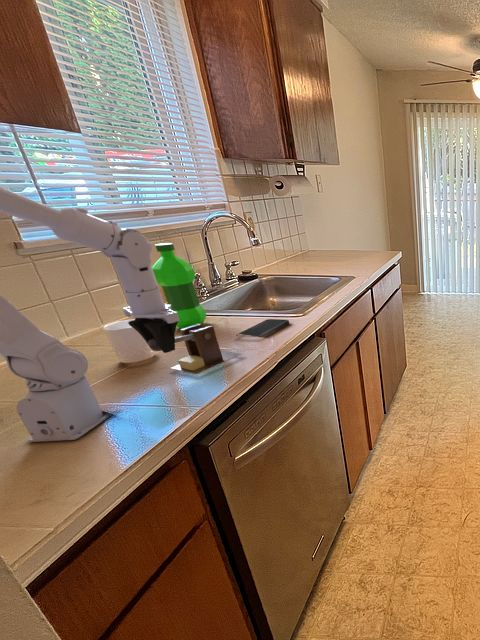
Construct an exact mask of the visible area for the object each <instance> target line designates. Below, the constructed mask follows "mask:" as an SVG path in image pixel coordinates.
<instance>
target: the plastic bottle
mask: <svg viewBox="0 0 480 640" xmlns="http://www.w3.org/2000/svg"><path fill="white" fill-rule="evenodd" d="M154 246H155V248H156V252H158V253H160V258H159V259H158V260H157V261H156V262H155V263H154V264H153V265H152V266H151V267H152V269H153V272H154V275H155V278H156V281H157V284H158V286H160V287H161V288H162V289H161V290H162V291H163V294H164V297H165V299H166V302H167V305H171V307H172V308H171V310H172V311H174V312H177V313H178V316H179V319H180V321H178V323H177V326H176V328H180V329H184V328H187V327H190V326H193V325H196V324H201V325H202V324H203V323H204V322H205V321H206V319H207V312H206V310H205V308H204V307H203V305H201V304H200V301H199V297H198V295H197V292H196V289H195V286H194V283H193V282H194V280H195V279H196V272H195V269H194V267H193V266H192V265H191V264H190V263H189V262H188V261H186V260H184V259H183V258H181V257H178V256H177V255H175V253H174V251H175V250H176V248H175V246H174V243H173V242H172V243H171V242H164V243H155V244H154Z"/></svg>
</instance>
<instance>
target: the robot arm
mask: <svg viewBox="0 0 480 640" xmlns="http://www.w3.org/2000/svg"><path fill="white" fill-rule="evenodd" d="M0 214H4V215H7V216H10V217H14V218H17V219H21V220H24V221H27V222H30V223H34V224H37V225H40V226H43V227H47V228H49V229H50V230H51V231H52V232H53V234H54V235H55V236H56V237H57V238H58V239H60V240H64V241H66V242H70V243H74V244H76V245H79V246H82V247H85V248H89V249H92V250H94V251H98V252H100V253H102V254H103V255H104V256H105V257H106V258H110V260H111V262H112V265H113V267H114V270H115V273H116V275H117V278H118V280H119V283H120V285H121V288H122V291H123V293H124V296H125V298H126V302H127V304H128V306H125V307H122V311H123V313H124V315H125V317H128V318H130V317H132V318H133V319H135V320H133V321H130V322H128V323H129V325H130V326H131V327H133V328H134V329H135V330H136V331H137V332H138V333H139V334H140V335H141V336H142V337H143V338H144V340H145V341H146V342H147V344H148V342H149V340H150V339H151V338H153V337H155V339H156V340H157V342H158V344H159V346H160V348H161V350H162V351H161V352H162V353H164V354H167V353H171V352H173V351H176V343H175V337H176V330H177V323H178V321H180V319H179V316H178V313H177V312H174V311H172V310H171V308H172V307H171V305H168V304H166V303H165V301H164V298H163V296H162V295H163V294H162V292H161V290H160V285H159V284H157V281H156V278H155V275H154V272H153V269H152V267H153V266H152V260H151V253H152V250H153V244H152V242H151V241H149V240H148V239H147V237H146V235H144V234H143V233H142V232H141V231H139V230H137V229H135V228H134V229H133V228H121V227H120V226H119V224H118V222H117V221H113V220H108V221H107V220H104V219H102V218H99V217H96V216H95V215H91V214H89V210H88V209H85V208H84V207H83V208H82V207H74V208H73V207H70V206H69V207H64V208H61V209H56V208H54V207H51V206H48V205H46V204H44V203H42V202H39V201H37V200H34V199H32V198H29V197H27V196H24V195H22V194H19V193H16V192H14V191H12V190H10V189H7V188H4V187H2V186H0ZM153 351H154V350H153ZM154 352H155V351H154ZM0 356H2V357H3V358H4V359H5V361H6V365H7V367H8V369H9V371H10V372H11V373H12V374H13V375H14V376H17V377H19V378H21V379H25V382H26V388H27V389H28V392H27V394H26V395H25V396H24V397H23V398H22V399H20V400H19V401H18V402H17V404H16V413H17V414H18V417H19V418H20V419H21V421H22V423H23V425H24V427H25V429H26V430H27V432H28V433H29V435H30V438H28V441H29V443H37V442H56V441H57V442H58V441H74V440H78V439H79V438H81V437H82V436H84V435H85V434H87V433H88V432H90V431H91V430H92V429H94V428H96V427H98V426H99V425H100V424H101V423H103V422H104V421H106V420H107V419H108V418H111V416H113V415H114V413H111V412H107V411H104V410H102V407H101V406H100V403H99V401H98V399H97V397H96V395H95V393H94V391H93V389H92V387H91V384H90V383H89V380H88V378H87V377H86V373H87V371H88V368H89V363H88V359H87V357H86V356H85V354H84V353H82V352H81V351H79V350H78V349H76V348H75V349H74V348H71V347H68V346H66V345H64V344H63V342H61V340H59V339H57V338H56V337H54V336H52V335H50V334H48V333H46V332H44V331H43V330H41V329H39V328H38V327H37V326H36V325H35V324H34V323H33V322H32V321H31V320H30V319H28V318H27V317H26V316H25V315H24V314H23V313H22V312H21V311H20V310H19V309H18V308H16V307H15V306H14V305H13V304H12V303H11V302H10V301H9V300H7V299H6V298H5V297H4V296H3V295H2V294H1V293H0Z"/></svg>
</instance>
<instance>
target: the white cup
mask: <svg viewBox="0 0 480 640" xmlns="http://www.w3.org/2000/svg"><path fill="white" fill-rule="evenodd" d="M135 319H136V318H133V319H125V320H118V321H115V322H112V323H108V324H106V325H104V326H103V327H102V329H103V331H104V333H105V335H106V337H107V339H108V341H109V343H110V345H111V347H112V349H113V350H114V351H113V352H114V353H115V354H116V356H117V357H118V359H119V361H120V363H122V364H131V363H139V362H142V361H146V360H148V359H151V358H153V357H154V356H155V355H156V354H155V353H156V352H155V351H153V350H152V349H151V348H150V347H149V345H148V344H147V342H146V341H145V340H144V338H143V337H142V336H141V335H140V334H139V333H138V332H137V331H136V330H135V329H134V328H133V327H131V326H130V325H129V323H128V322H130V321H133V320H135Z"/></svg>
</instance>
